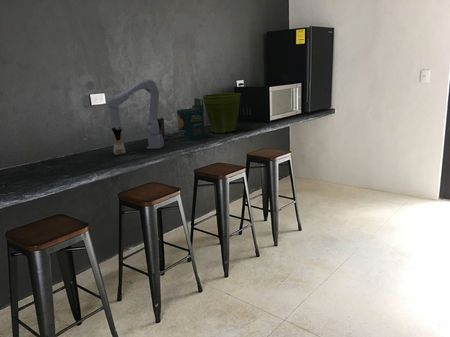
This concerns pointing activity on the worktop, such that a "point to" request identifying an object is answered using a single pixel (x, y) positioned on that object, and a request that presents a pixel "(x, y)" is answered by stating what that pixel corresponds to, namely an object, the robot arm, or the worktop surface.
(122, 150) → the tower base
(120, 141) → the terracotta cube
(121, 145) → the tower top
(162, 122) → the coffee box
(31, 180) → the worktop surface
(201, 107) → the donation box
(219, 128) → the plant pot
